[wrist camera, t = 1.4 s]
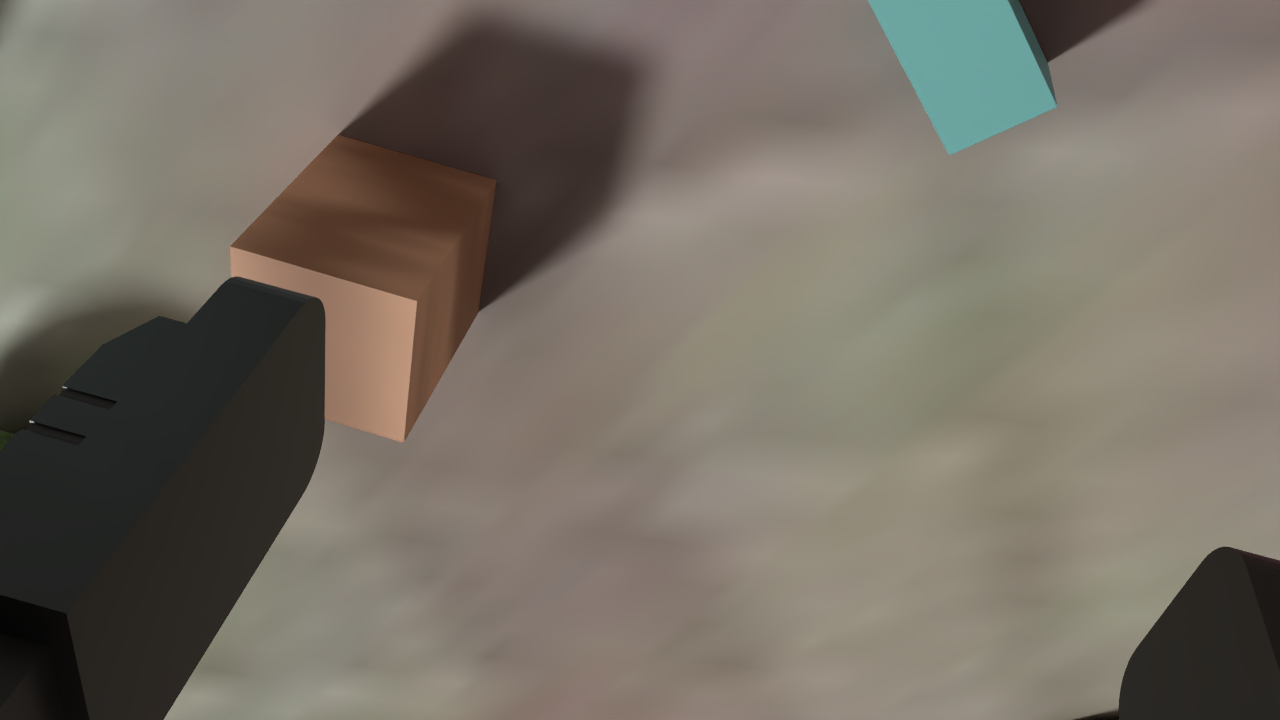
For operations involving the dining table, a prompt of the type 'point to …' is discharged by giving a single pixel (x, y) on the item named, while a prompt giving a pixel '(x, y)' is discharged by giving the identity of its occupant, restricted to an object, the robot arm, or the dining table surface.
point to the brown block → (378, 272)
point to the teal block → (969, 64)
